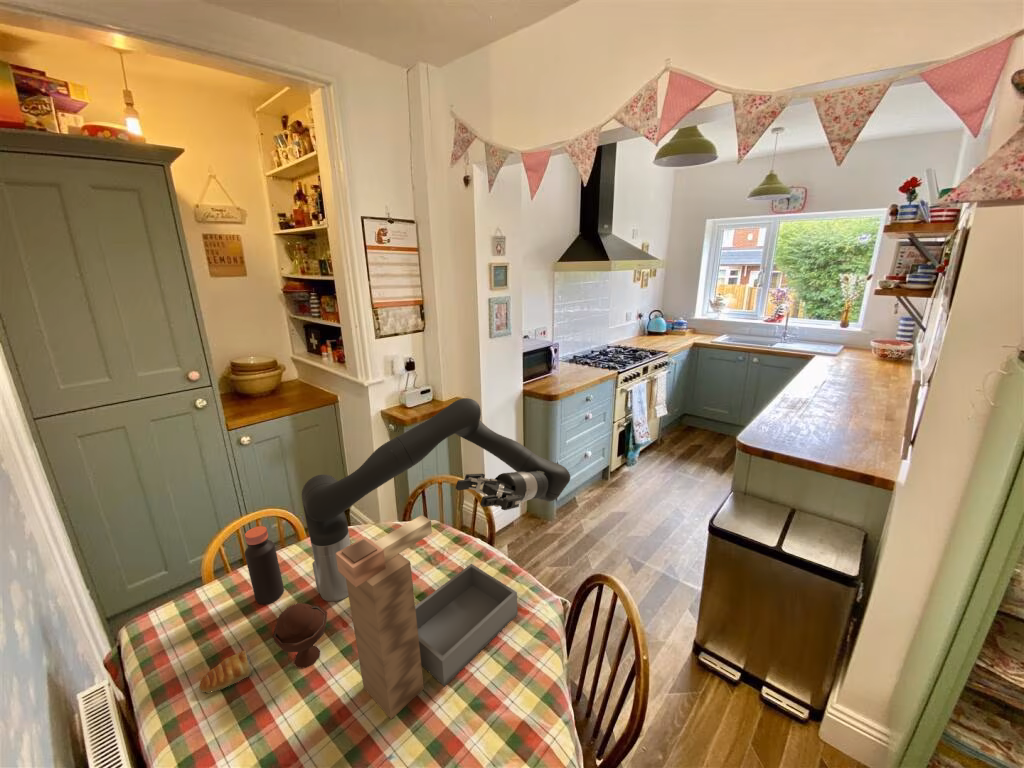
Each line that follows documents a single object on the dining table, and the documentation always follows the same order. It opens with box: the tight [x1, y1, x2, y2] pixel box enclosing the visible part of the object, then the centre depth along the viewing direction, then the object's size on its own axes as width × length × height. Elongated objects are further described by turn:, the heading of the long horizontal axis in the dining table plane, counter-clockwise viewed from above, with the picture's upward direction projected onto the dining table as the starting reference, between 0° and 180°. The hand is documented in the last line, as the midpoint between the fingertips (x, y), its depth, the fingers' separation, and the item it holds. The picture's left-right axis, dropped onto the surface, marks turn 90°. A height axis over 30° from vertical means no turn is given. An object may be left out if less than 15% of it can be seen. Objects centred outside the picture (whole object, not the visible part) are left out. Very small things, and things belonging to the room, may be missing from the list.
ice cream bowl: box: [272, 602, 328, 669], centre depth 94 cm, size 11×11×15 cm
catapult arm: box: [335, 514, 433, 587], centre depth 82 cm, size 18×6×4 cm, turn 140°
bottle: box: [244, 525, 285, 605], centre depth 112 cm, size 7×7×20 cm
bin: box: [415, 563, 518, 687], centre depth 102 cm, size 24×16×7 cm, turn 140°
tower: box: [346, 553, 425, 720], centre depth 85 cm, size 8×10×32 cm
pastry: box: [199, 650, 252, 694], centre depth 92 cm, size 9×7×4 cm
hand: (469, 493), depth 95 cm, fingers open, 8 cm apart
